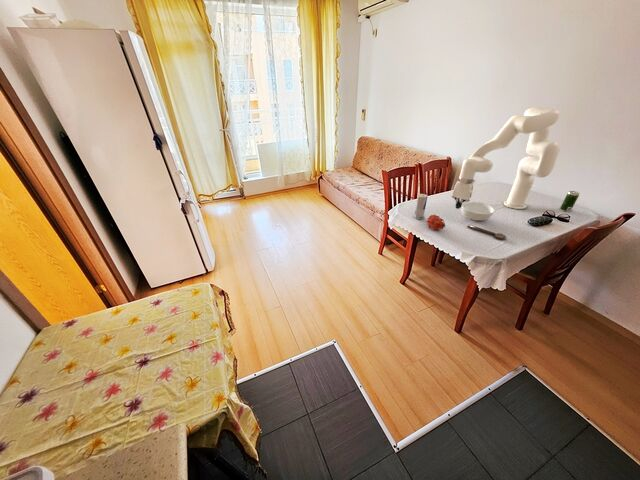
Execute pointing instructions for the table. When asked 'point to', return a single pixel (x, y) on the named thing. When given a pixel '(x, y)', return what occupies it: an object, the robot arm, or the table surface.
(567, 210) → the beer can
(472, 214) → the cereal bowl
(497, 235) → the wooden spoon
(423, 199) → the beverage can
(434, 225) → the dragon fruit
